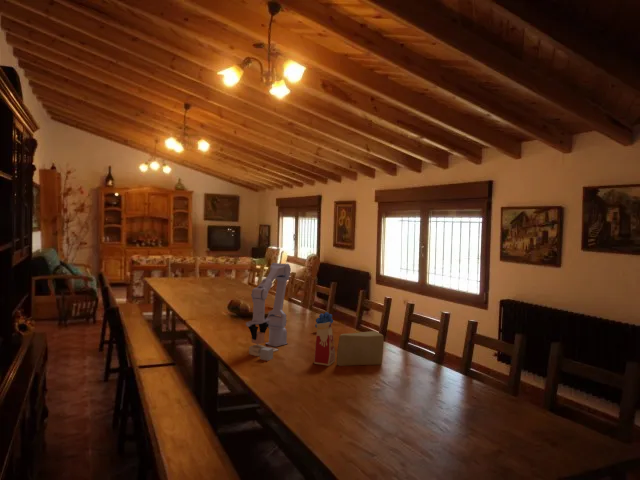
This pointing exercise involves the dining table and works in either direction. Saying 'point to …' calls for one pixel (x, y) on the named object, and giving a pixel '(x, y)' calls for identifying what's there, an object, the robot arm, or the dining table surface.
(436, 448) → the dining table surface
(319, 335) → the milk carton
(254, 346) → the birch base block
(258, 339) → the terracotta block
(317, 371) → the dining table surface
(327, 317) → the grapes
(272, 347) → the tile
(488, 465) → the dining table surface
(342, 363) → the cheese
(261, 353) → the grey painted block
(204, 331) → the dining table surface
